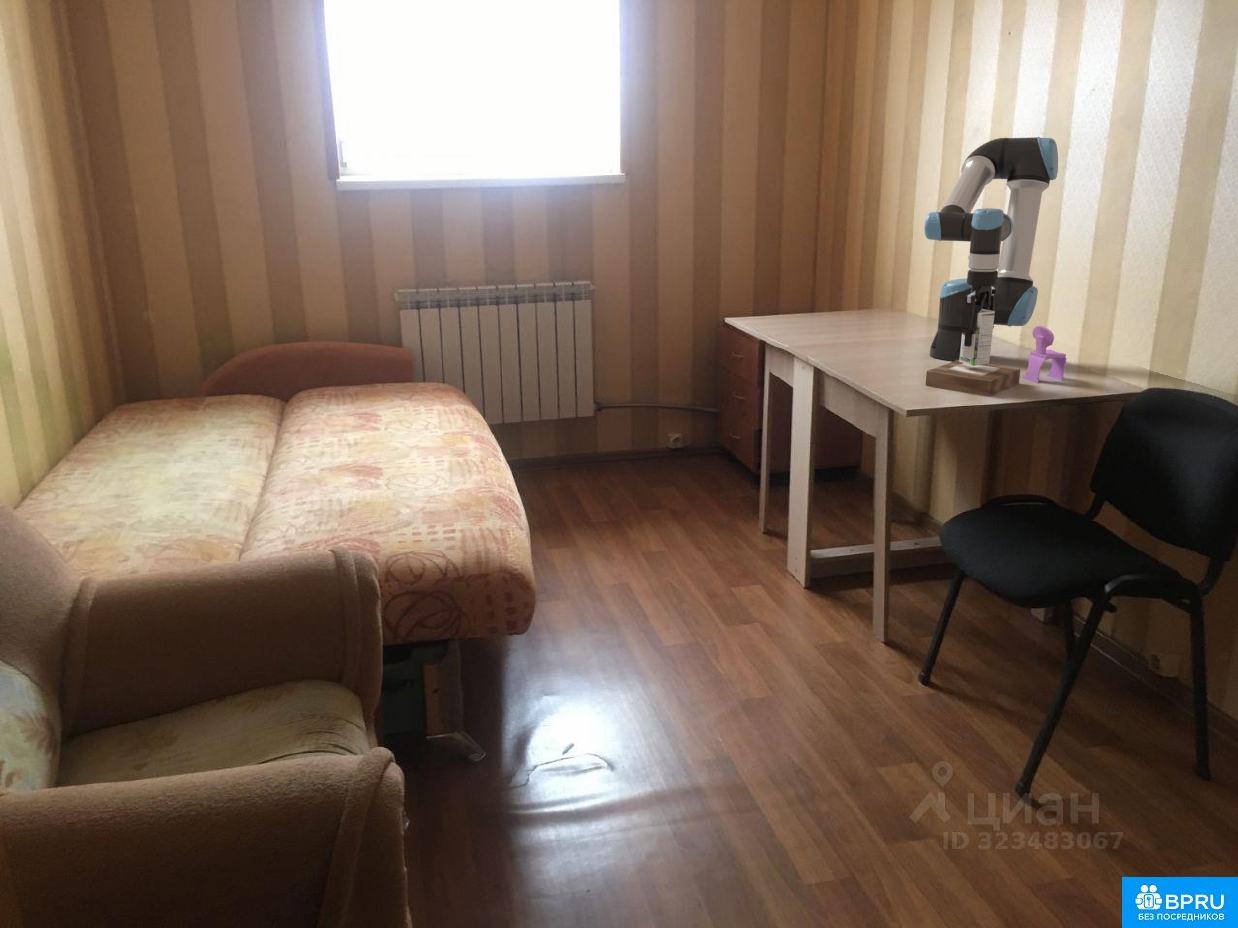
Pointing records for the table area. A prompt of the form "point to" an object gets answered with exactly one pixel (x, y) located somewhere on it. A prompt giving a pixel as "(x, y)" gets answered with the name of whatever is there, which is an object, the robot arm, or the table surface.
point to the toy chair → (1044, 356)
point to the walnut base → (973, 378)
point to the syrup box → (980, 339)
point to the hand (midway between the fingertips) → (975, 355)
